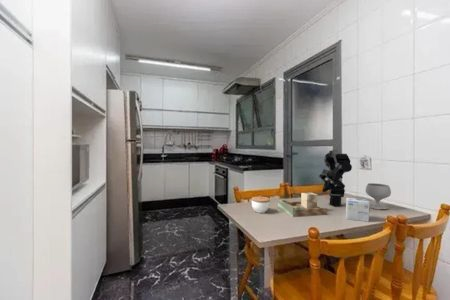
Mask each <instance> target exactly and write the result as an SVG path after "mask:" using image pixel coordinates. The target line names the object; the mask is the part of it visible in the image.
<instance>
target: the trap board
mask: <svg viewBox="0 0 450 300" xmlns="http://www.w3.org/2000/svg"><path fill="white" fill-rule="evenodd" d="M277 209H279V210H280V211H282V212H283V213H286V214H287V215H289V216H291V217H310V216H323V215H327V214H328V208H327V207H320V206H318V205H317V208H305V207H303V206H301V200H300V201H289V200H288V199H278V200H277Z"/></svg>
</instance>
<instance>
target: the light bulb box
mask: <svg viewBox="0 0 450 300" xmlns="http://www.w3.org/2000/svg"><path fill="white" fill-rule="evenodd" d="M369 204H370V201H369V200H368V199H366V198H365V199H364V198H352V197H345V218H346V220H351V221H359V222H367V223H368V222H369V221H370V207H369Z"/></svg>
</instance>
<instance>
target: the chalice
mask: <svg viewBox="0 0 450 300" xmlns="http://www.w3.org/2000/svg"><path fill="white" fill-rule="evenodd" d="M365 193H366V195H368V196H369V197H371V198H373V199H374V200H375V203H373V204H372V203H371V204H370V203H369V209H373V208H374V210H380V209H387V208H388V207H387V206H385V205H381V204H380V202H381V201H382V200H383V199H387V198H389V197H391V195H392V190H391V187H390V185H388V184H385V183H374V182H373V183H371V182H370V183H367V184H366V186H365ZM387 210H388V209H387Z"/></svg>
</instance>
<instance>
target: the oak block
mask: <svg viewBox="0 0 450 300" xmlns="http://www.w3.org/2000/svg"><path fill="white" fill-rule="evenodd" d="M300 195H301V197H300V198H301V200H300V201H301V206H303V207H305V208H317V206H318V193H317V194H316V193H314V192H301V194H300Z"/></svg>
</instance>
